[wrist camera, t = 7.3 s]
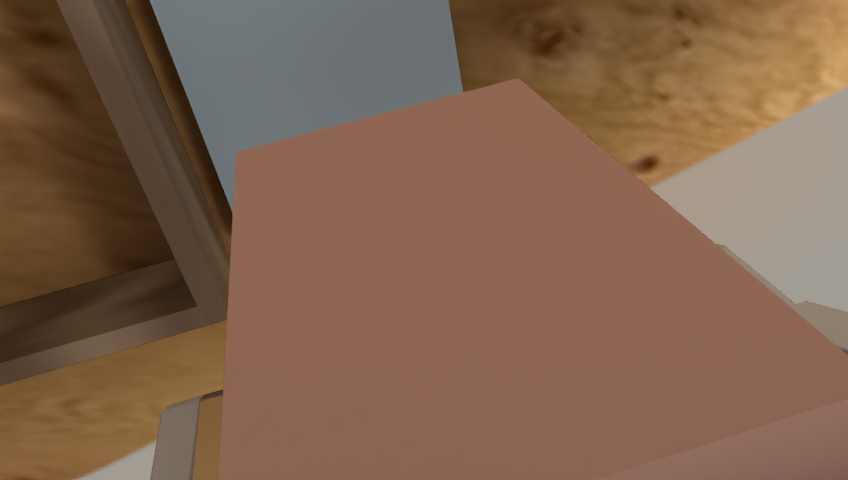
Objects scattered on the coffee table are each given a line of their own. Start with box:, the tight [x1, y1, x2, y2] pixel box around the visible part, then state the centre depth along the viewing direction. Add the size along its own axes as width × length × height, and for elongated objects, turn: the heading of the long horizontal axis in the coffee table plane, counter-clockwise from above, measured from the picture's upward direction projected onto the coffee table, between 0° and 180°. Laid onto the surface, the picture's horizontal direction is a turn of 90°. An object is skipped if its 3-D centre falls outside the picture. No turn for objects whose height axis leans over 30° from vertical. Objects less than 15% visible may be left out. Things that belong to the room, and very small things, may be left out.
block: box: [218, 78, 848, 480], centre depth 9 cm, size 5×5×8 cm
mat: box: [150, 0, 463, 213], centre depth 27 cm, size 11×15×1 cm
